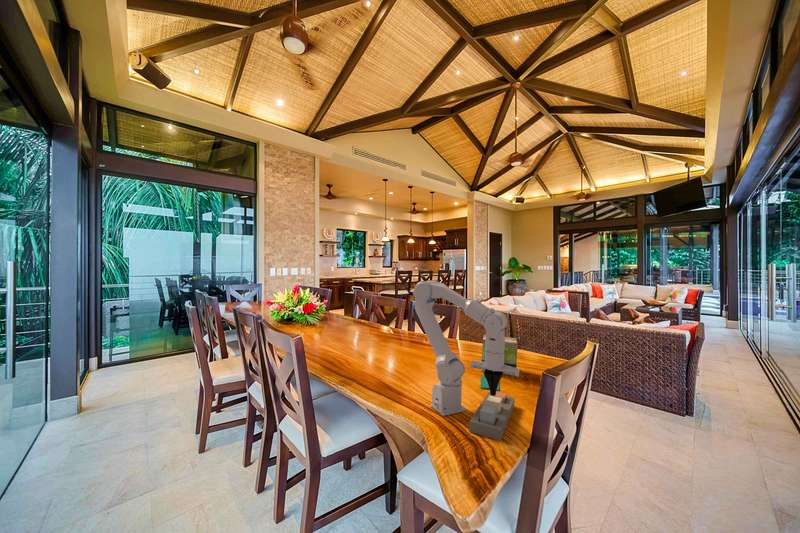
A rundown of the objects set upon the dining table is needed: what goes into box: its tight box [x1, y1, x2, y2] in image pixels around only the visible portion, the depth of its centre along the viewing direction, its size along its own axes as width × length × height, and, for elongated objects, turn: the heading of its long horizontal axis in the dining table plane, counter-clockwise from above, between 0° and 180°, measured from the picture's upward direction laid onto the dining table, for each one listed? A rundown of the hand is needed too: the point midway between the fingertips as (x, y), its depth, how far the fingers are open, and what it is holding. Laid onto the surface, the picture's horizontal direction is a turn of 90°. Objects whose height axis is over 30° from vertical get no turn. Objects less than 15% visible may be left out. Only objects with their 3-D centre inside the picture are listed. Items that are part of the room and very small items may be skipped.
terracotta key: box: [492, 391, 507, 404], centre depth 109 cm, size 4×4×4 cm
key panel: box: [468, 391, 516, 441], centre depth 102 cm, size 24×9×3 cm, turn 152°
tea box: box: [480, 334, 518, 376], centre depth 146 cm, size 15×10×15 cm
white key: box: [486, 395, 502, 414], centre depth 102 cm, size 4×4×4 cm
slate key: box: [480, 405, 497, 426], centre depth 95 cm, size 4×4×4 cm
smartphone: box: [480, 374, 501, 392], centre depth 131 cm, size 7×1×15 cm
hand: (493, 394), depth 100 cm, fingers closed
